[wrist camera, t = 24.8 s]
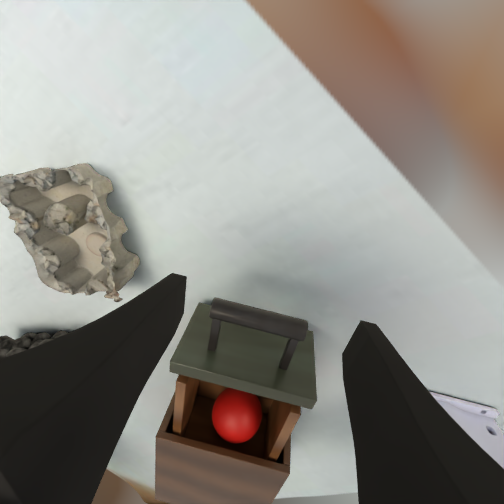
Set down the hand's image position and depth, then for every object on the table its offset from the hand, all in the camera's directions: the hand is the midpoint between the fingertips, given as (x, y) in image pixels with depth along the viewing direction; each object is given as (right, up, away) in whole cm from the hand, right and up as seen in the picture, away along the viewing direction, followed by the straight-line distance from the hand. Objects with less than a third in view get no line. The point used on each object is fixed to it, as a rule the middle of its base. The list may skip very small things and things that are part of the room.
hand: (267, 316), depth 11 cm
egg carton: (-14, +5, +12) cm, 19 cm away
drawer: (-1, -7, +15) cm, 17 cm away
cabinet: (-3, -16, +22) cm, 28 cm away
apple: (-2, -13, +15) cm, 20 cm away
